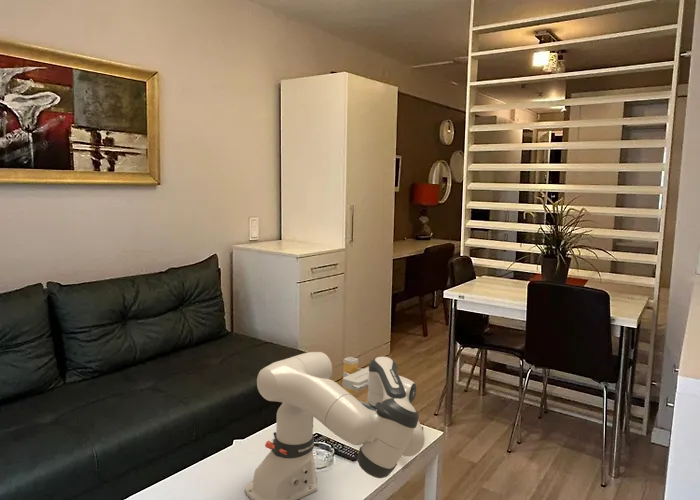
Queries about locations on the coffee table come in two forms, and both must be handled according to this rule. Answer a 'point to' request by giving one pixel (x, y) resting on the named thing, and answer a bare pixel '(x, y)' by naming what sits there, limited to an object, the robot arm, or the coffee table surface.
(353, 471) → the coffee table surface
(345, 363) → the block
